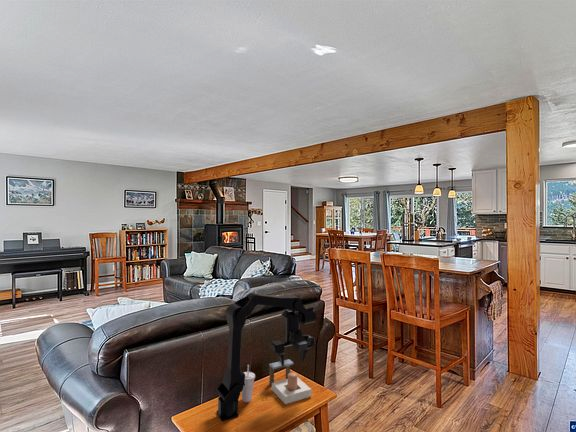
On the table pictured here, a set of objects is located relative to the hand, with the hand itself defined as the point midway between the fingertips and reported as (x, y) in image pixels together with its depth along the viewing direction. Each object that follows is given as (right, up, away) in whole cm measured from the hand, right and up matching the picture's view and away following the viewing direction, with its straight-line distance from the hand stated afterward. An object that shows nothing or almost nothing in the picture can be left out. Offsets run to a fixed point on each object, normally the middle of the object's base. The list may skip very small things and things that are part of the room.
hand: (292, 363), depth 138 cm
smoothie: (-18, -12, -5) cm, 23 cm away
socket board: (0, -12, -1) cm, 12 cm away
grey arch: (-5, -12, +8) cm, 15 cm away
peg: (0, -12, -1) cm, 12 cm away
